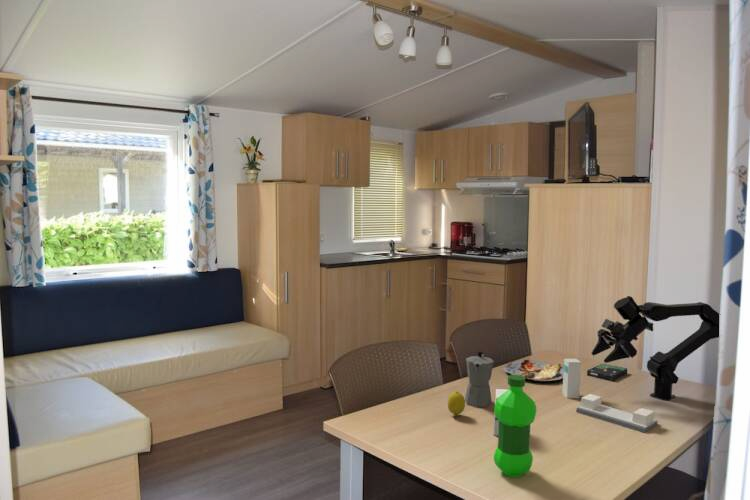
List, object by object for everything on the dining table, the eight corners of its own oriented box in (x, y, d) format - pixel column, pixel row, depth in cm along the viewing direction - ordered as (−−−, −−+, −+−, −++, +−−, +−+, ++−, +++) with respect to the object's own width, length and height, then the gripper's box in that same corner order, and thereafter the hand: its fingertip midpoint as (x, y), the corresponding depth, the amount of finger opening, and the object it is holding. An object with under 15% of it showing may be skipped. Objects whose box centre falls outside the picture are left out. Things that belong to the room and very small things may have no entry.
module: (574, 393, 209) (576, 358, 208) (579, 398, 205) (581, 362, 203) (561, 393, 209) (563, 358, 208) (566, 398, 205) (568, 362, 203)
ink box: (493, 424, 179) (495, 388, 178) (510, 426, 178) (511, 389, 177) (493, 436, 171) (495, 397, 170) (511, 437, 170) (512, 399, 169)
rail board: (590, 404, 198) (591, 392, 198) (657, 424, 182) (658, 410, 182) (576, 411, 191) (576, 398, 191) (644, 432, 175) (645, 418, 175)
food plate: (520, 361, 249) (520, 353, 248) (574, 372, 235) (575, 364, 235) (495, 377, 228) (496, 368, 228) (554, 390, 215) (554, 381, 214)
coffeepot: (489, 411, 191) (492, 357, 189) (461, 407, 194) (463, 354, 192) (494, 396, 205) (496, 346, 204) (468, 392, 208) (469, 343, 206)
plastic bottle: (489, 477, 146) (493, 380, 143) (496, 460, 155) (499, 369, 153) (530, 485, 142) (535, 386, 140) (534, 466, 152) (539, 374, 149)
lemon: (466, 414, 188) (467, 390, 187) (461, 420, 183) (462, 395, 182) (450, 411, 190) (451, 387, 189) (445, 417, 185) (445, 392, 184)
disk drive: (612, 383, 224) (627, 374, 234) (612, 376, 224) (627, 368, 234) (586, 377, 231) (602, 369, 242) (586, 370, 231) (602, 362, 241)
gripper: (605, 307, 212) (573, 334, 212) (632, 318, 194) (597, 348, 194) (623, 329, 214) (591, 357, 214) (651, 342, 195) (616, 372, 195)
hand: (598, 358), depth 204 cm, fingers open, 9 cm apart
